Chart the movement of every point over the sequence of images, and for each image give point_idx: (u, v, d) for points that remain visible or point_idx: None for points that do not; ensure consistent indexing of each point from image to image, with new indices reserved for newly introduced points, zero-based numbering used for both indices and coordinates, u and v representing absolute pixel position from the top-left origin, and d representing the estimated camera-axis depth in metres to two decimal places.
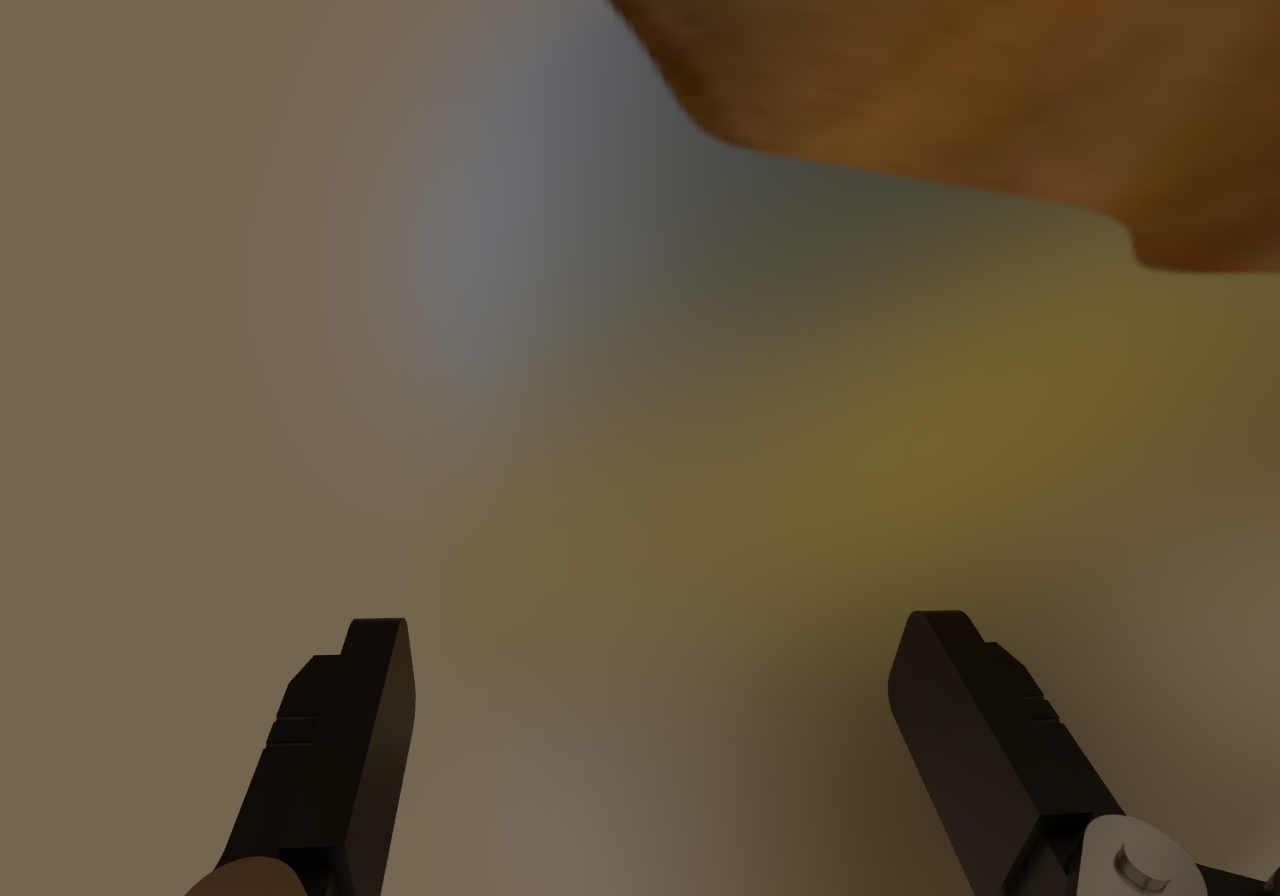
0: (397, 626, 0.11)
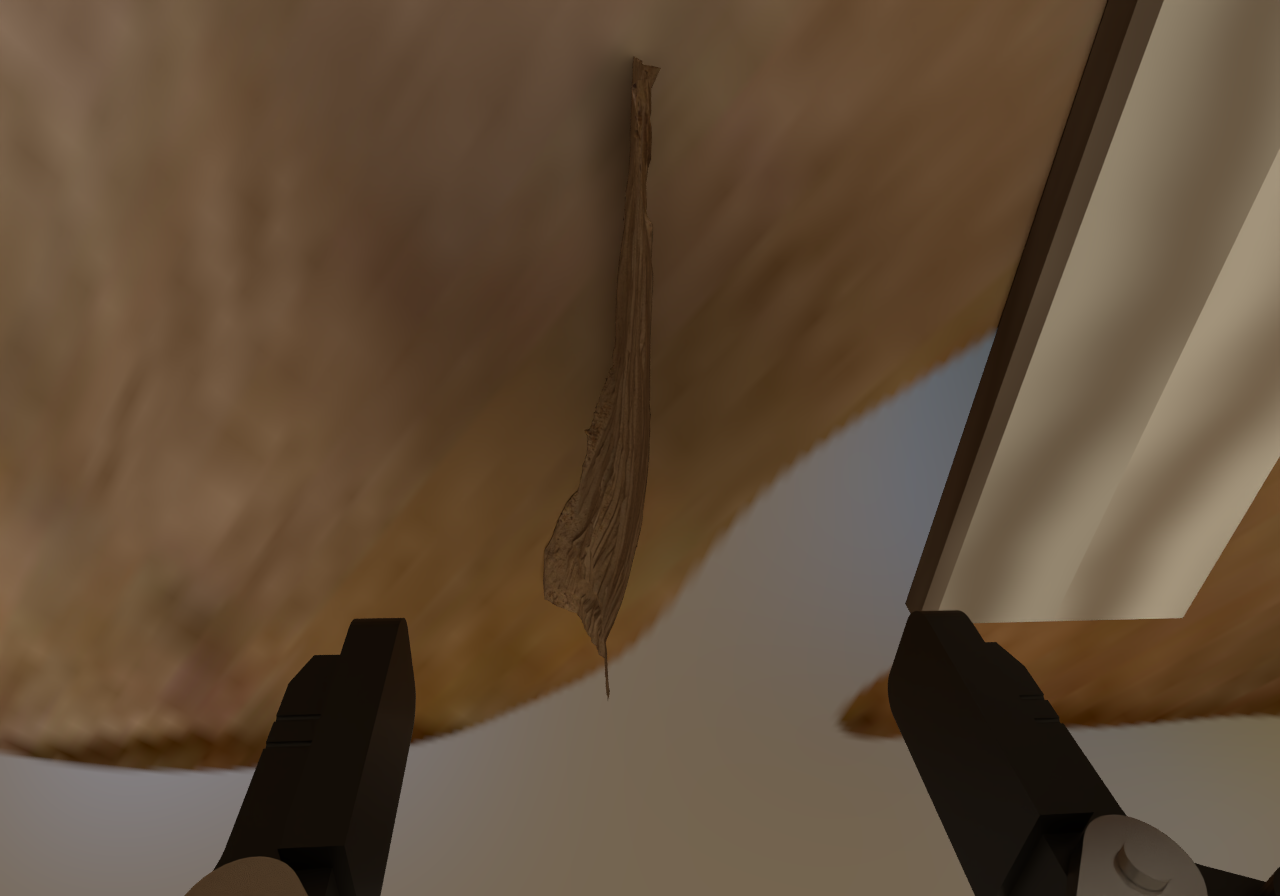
0: (397, 626, 0.11)
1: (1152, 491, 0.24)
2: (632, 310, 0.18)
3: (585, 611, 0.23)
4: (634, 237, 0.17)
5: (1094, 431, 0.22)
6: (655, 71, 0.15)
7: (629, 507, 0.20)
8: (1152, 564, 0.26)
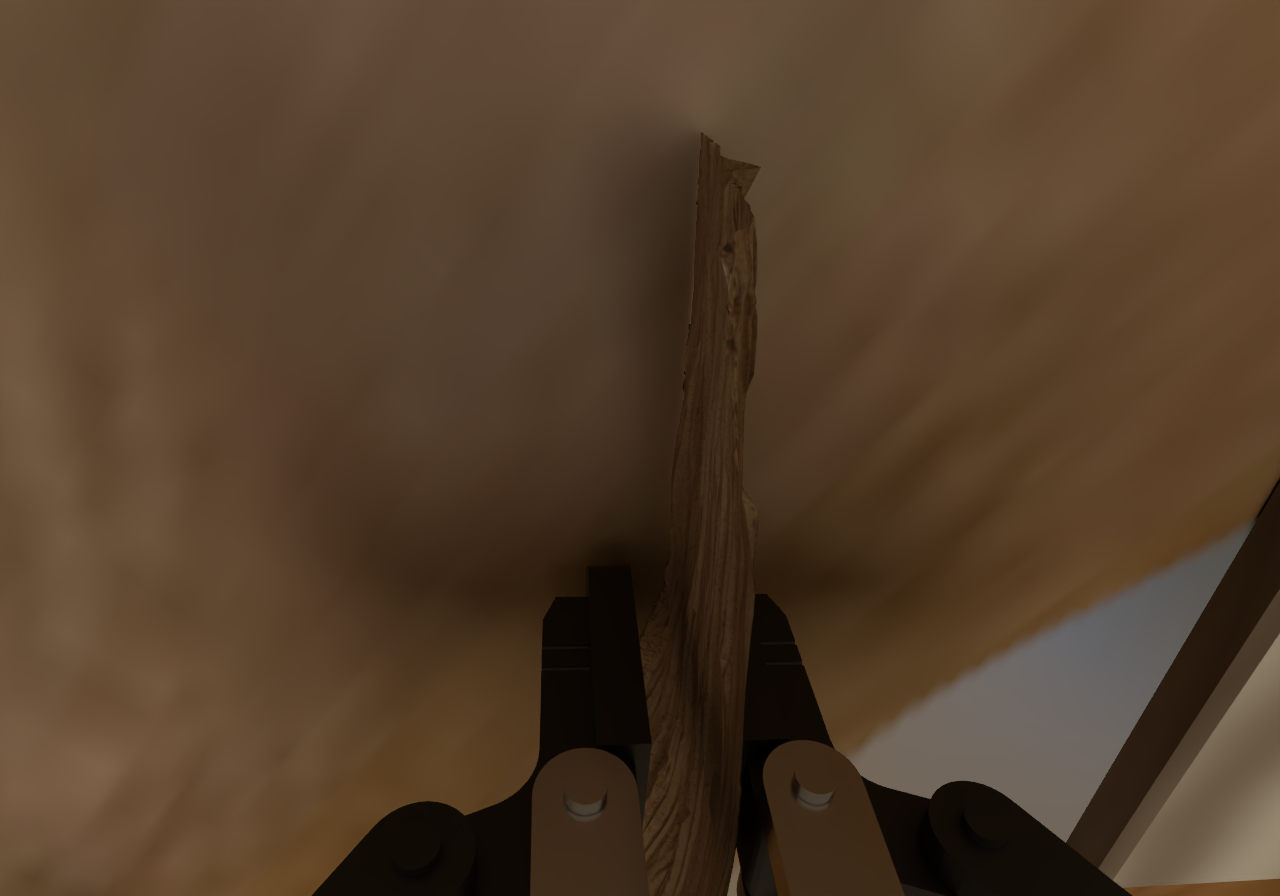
0: (629, 571, 0.12)
1: None
2: (701, 555, 0.11)
3: None
4: (706, 446, 0.10)
5: None
6: (749, 172, 0.08)
7: (694, 837, 0.12)
8: None
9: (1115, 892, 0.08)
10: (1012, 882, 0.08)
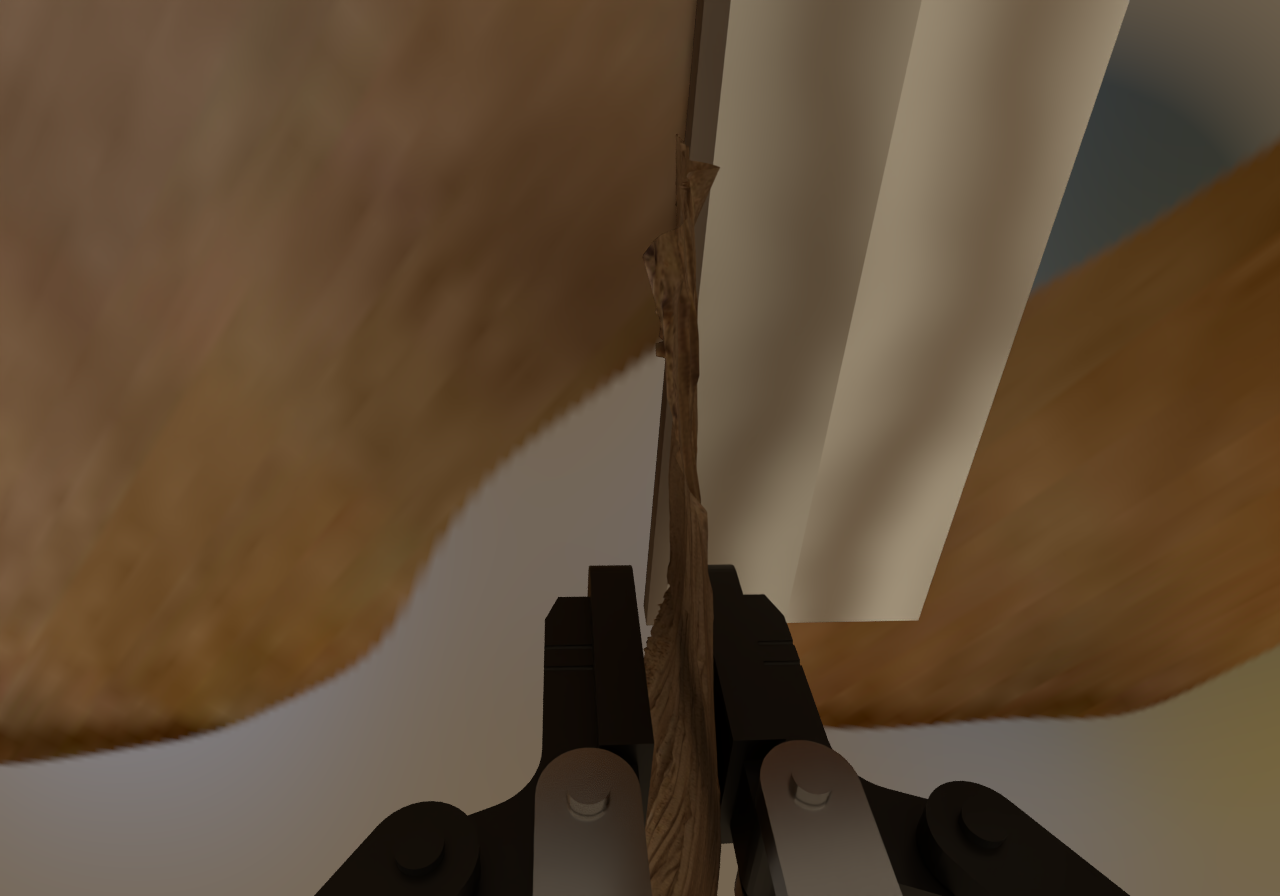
0: (631, 571, 0.12)
1: (851, 496, 0.25)
2: (688, 556, 0.10)
3: None
4: None
5: (775, 438, 0.23)
6: (710, 172, 0.08)
7: (697, 838, 0.12)
8: (871, 567, 0.26)
9: (1111, 891, 0.08)
10: (1009, 882, 0.08)
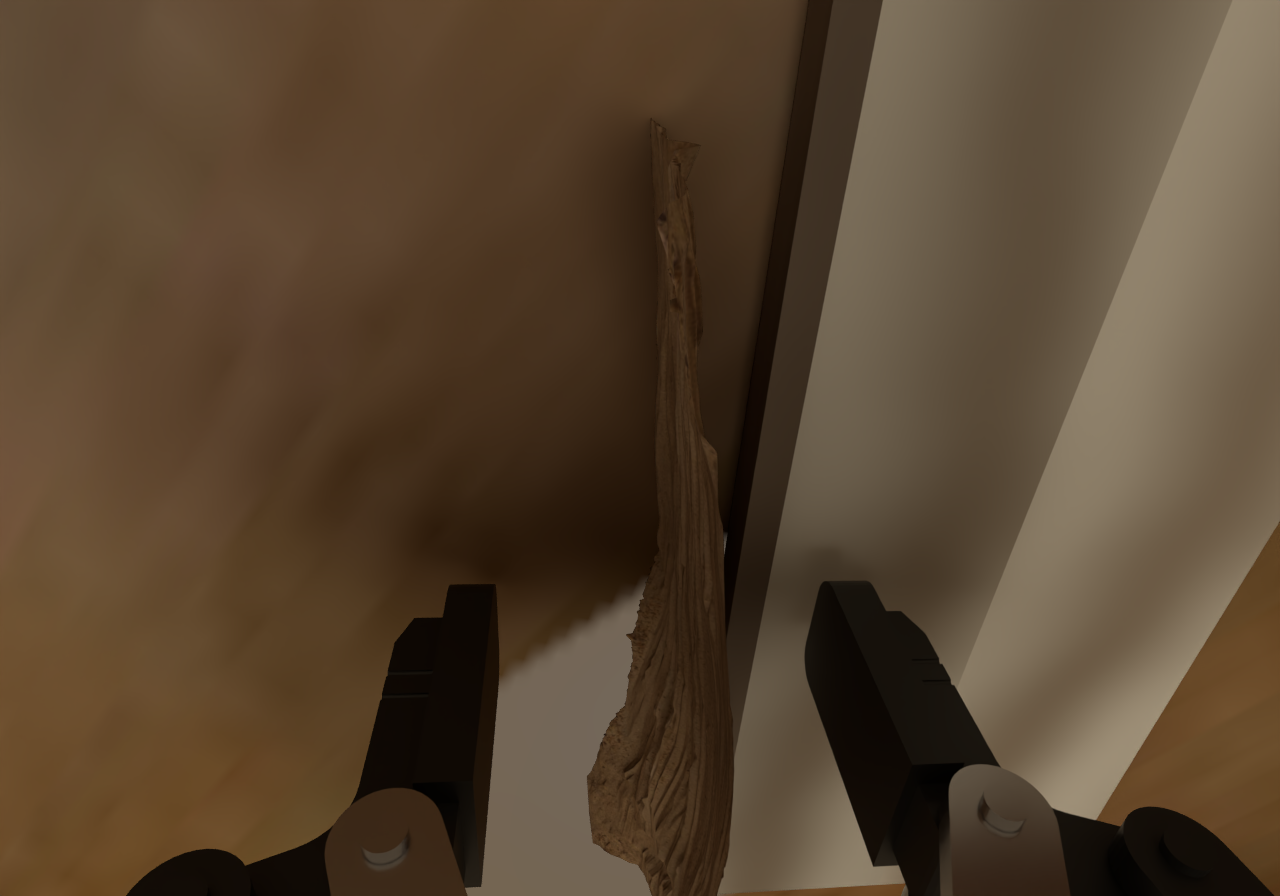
0: (491, 591, 0.12)
1: (991, 740, 0.17)
2: (683, 511, 0.11)
3: (650, 873, 0.16)
4: (677, 409, 0.11)
5: None
6: (691, 150, 0.09)
7: (702, 779, 0.13)
8: None
9: None
10: None
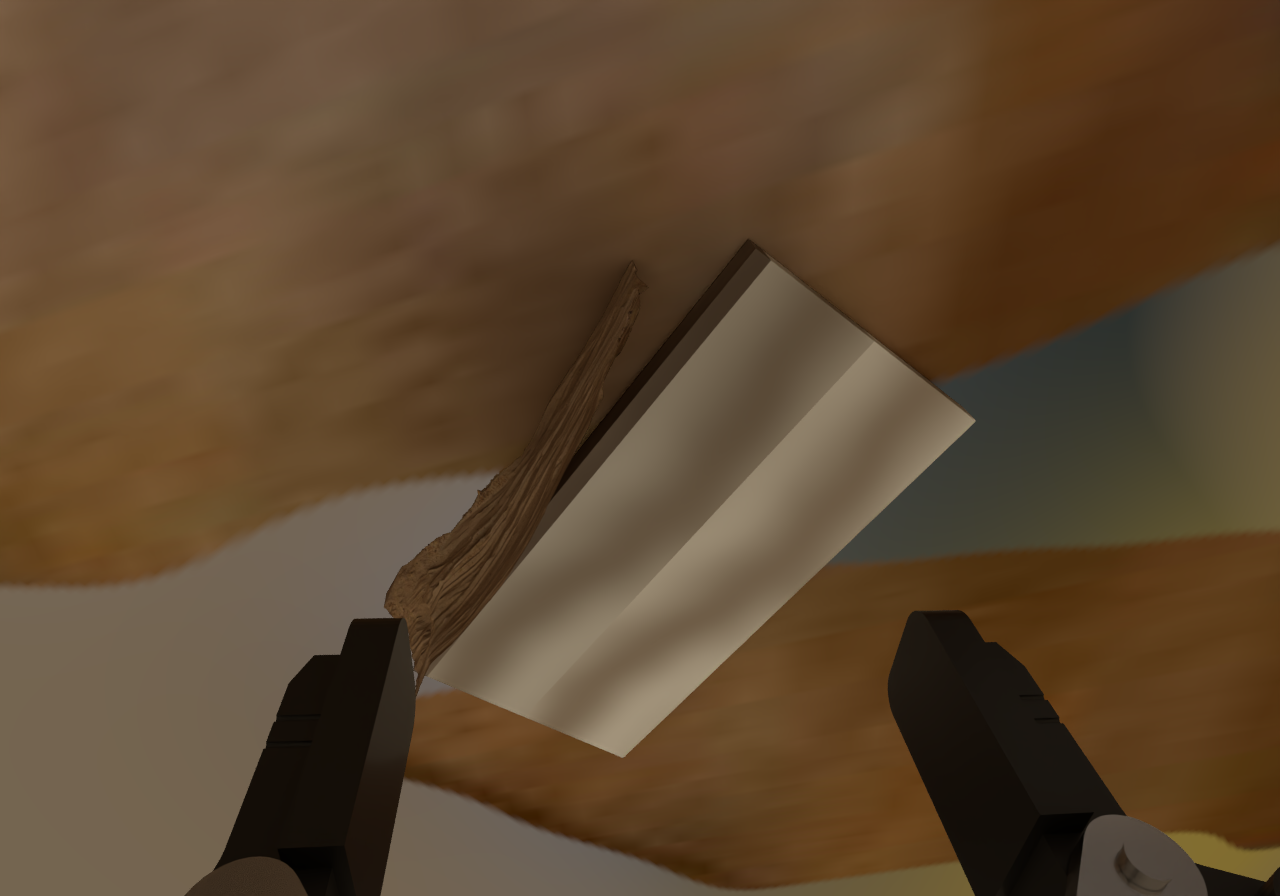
0: (397, 626, 0.11)
1: (630, 645, 0.30)
2: (558, 428, 0.23)
3: (416, 630, 0.27)
4: (582, 381, 0.23)
5: (602, 577, 0.28)
6: (643, 287, 0.21)
7: (492, 565, 0.24)
8: (613, 703, 0.31)
9: None
10: None
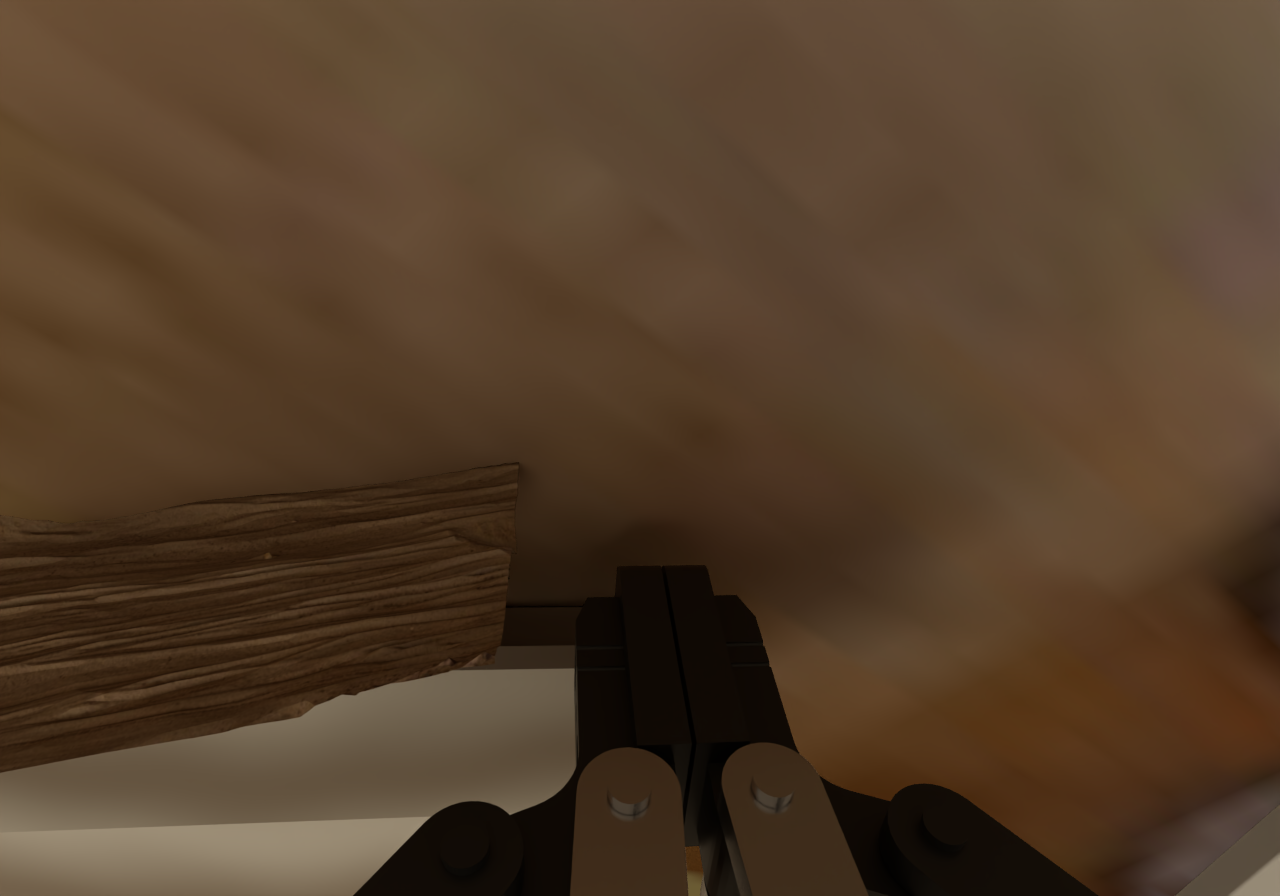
0: (661, 572, 0.12)
1: None
2: (168, 591, 0.11)
3: None
4: (283, 568, 0.11)
5: (9, 781, 0.15)
6: (510, 545, 0.12)
7: None
8: None
9: (1071, 886, 0.08)
10: (968, 886, 0.08)
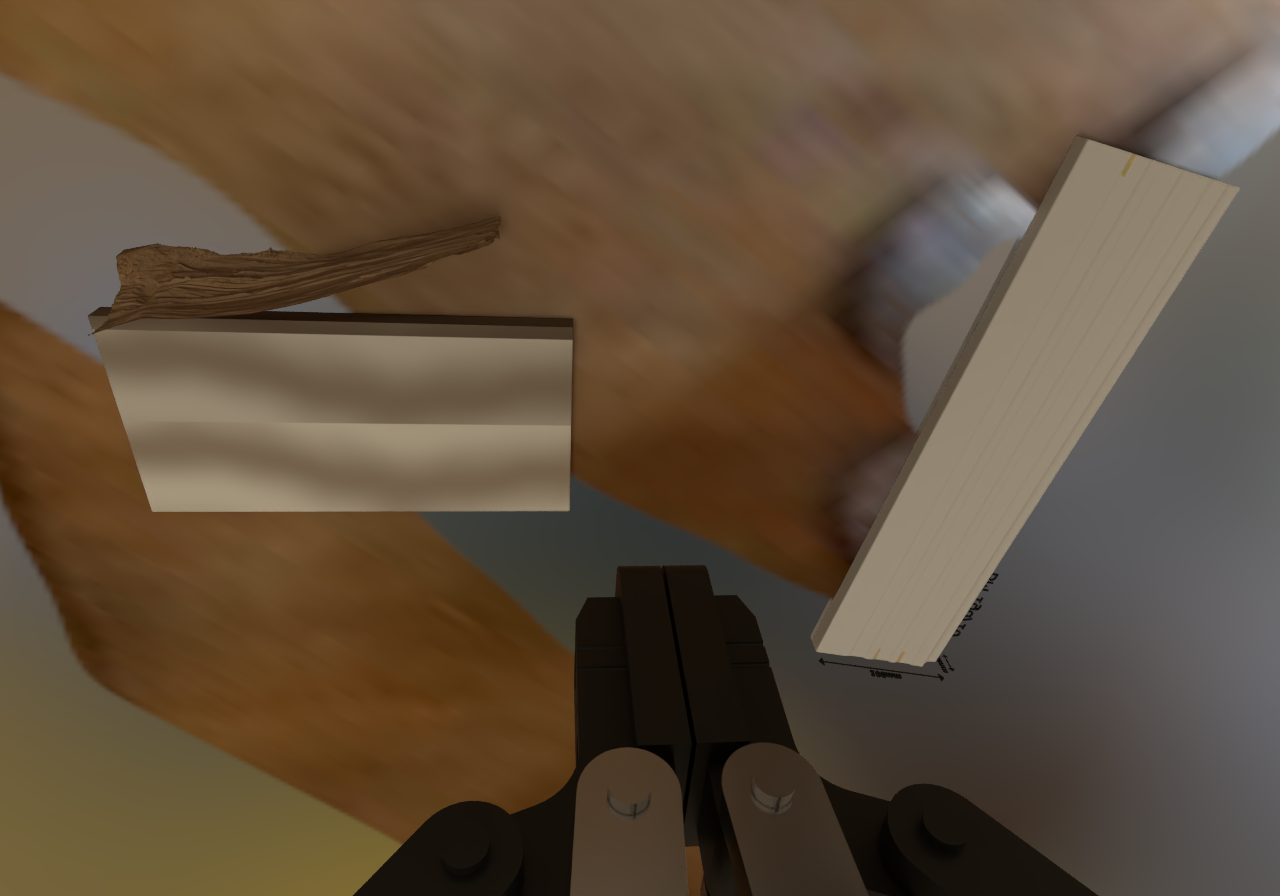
0: (661, 572, 0.12)
1: (257, 446, 0.35)
2: (373, 260, 0.30)
3: (132, 292, 0.30)
4: (414, 249, 0.31)
5: (295, 392, 0.34)
6: (497, 236, 0.31)
7: (246, 299, 0.30)
8: (196, 471, 0.36)
9: (1071, 887, 0.08)
10: (968, 886, 0.08)
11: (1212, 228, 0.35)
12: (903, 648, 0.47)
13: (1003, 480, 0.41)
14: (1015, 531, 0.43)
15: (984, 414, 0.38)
